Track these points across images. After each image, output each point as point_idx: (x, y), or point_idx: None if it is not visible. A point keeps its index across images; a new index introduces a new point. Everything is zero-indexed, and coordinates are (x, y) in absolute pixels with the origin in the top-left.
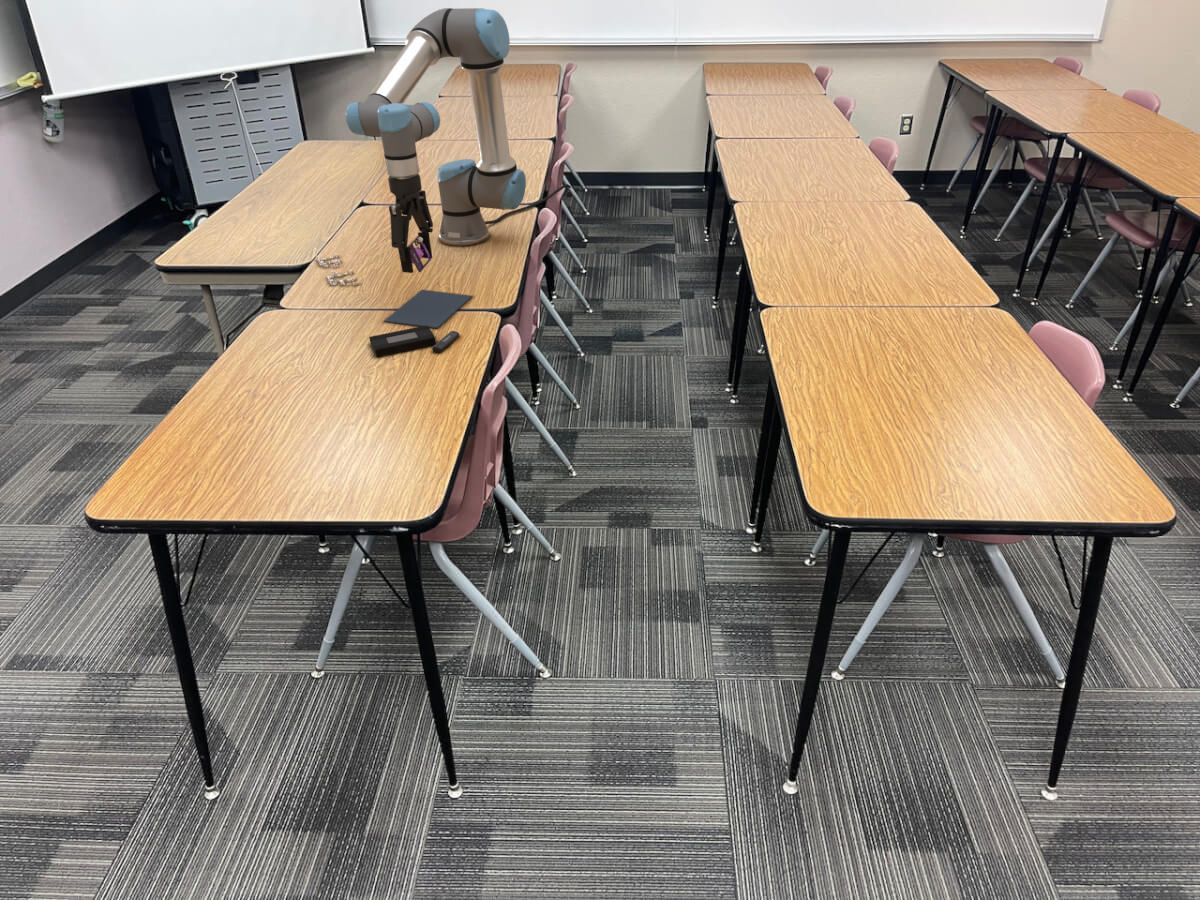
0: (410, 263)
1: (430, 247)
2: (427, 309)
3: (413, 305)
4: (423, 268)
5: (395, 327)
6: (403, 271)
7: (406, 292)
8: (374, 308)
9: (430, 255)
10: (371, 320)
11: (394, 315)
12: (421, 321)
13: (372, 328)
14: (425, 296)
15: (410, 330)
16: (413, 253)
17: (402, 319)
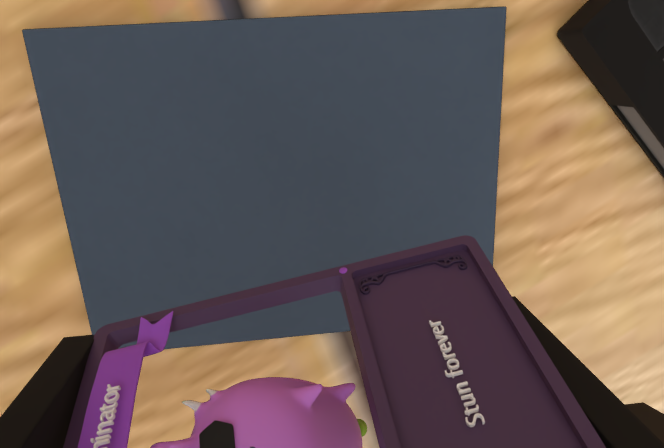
0: (568, 353)
1: (7, 420)
2: (310, 189)
3: None
4: (366, 261)
5: (528, 234)
6: None
7: (149, 410)
8: (367, 433)
9: (83, 355)
10: None
11: None
12: (457, 137)
13: (558, 323)
14: (164, 292)
15: (657, 90)
16: (476, 436)
17: None
